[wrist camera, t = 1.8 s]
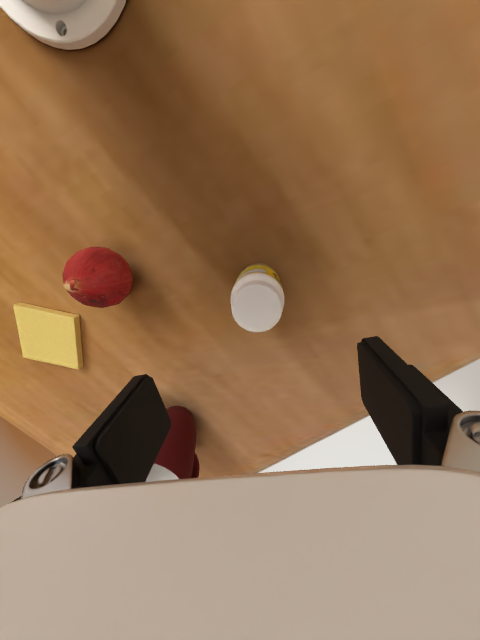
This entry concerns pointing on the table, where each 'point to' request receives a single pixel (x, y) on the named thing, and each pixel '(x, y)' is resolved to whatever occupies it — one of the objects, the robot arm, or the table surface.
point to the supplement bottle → (257, 298)
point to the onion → (97, 277)
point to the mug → (177, 449)
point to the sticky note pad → (49, 335)
